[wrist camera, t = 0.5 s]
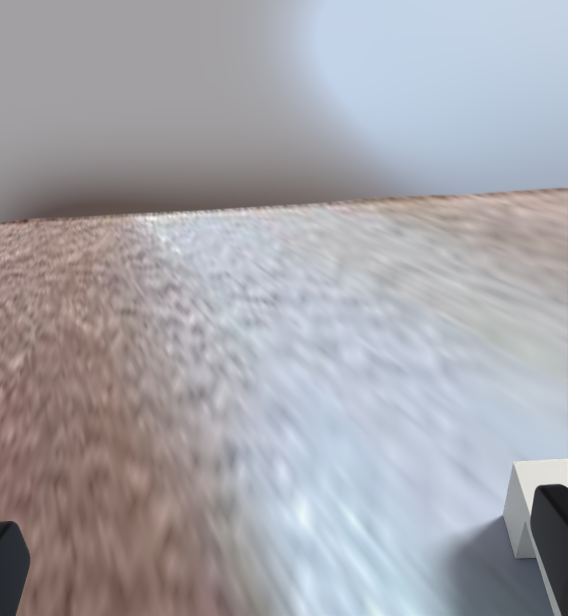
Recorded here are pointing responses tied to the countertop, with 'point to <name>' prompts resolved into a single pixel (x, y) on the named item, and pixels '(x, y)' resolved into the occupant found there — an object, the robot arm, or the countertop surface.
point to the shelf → (530, 508)
